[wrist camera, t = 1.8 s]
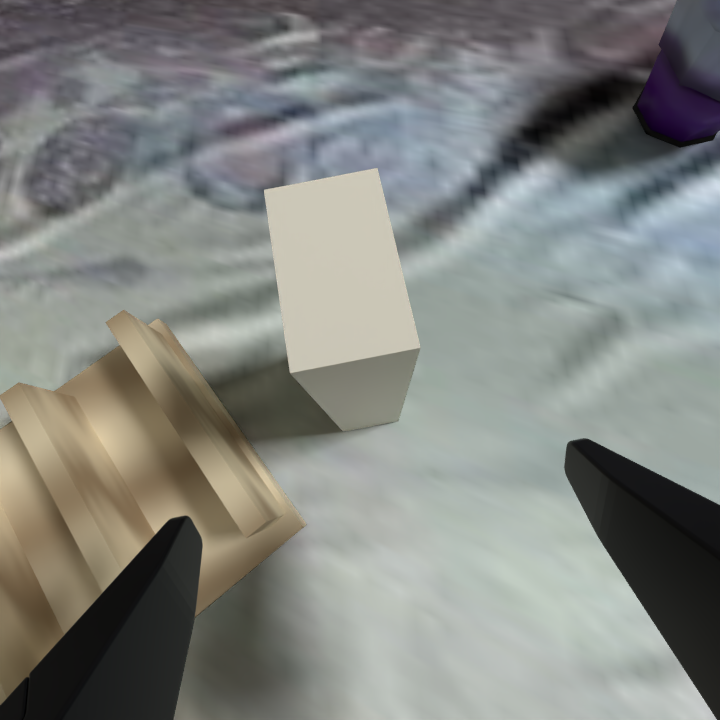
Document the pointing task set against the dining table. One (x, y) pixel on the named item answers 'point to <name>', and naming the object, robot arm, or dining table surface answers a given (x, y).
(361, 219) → the cream rectangular block
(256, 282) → the dining table surface
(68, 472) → the ridged tan cradle
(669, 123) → the potion bottle
